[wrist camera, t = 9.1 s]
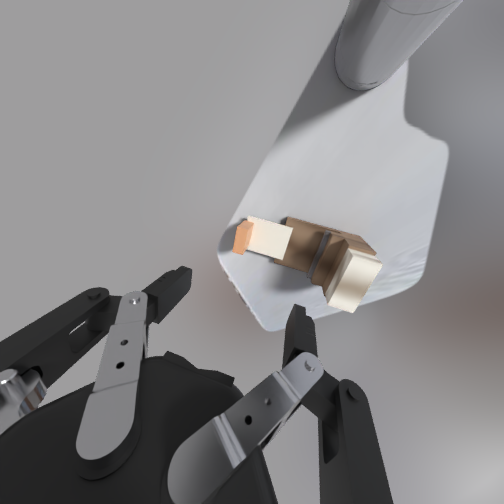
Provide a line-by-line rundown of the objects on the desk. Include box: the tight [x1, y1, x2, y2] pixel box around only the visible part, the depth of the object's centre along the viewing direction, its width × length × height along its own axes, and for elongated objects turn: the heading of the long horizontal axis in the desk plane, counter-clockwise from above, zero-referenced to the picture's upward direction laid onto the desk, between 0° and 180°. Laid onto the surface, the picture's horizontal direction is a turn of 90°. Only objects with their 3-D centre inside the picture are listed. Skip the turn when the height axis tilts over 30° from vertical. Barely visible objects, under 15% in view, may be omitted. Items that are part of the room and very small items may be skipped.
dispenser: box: [274, 217, 383, 313], centre depth 32 cm, size 10×14×11 cm
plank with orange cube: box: [232, 216, 293, 260], centre depth 35 cm, size 7×10×6 cm
